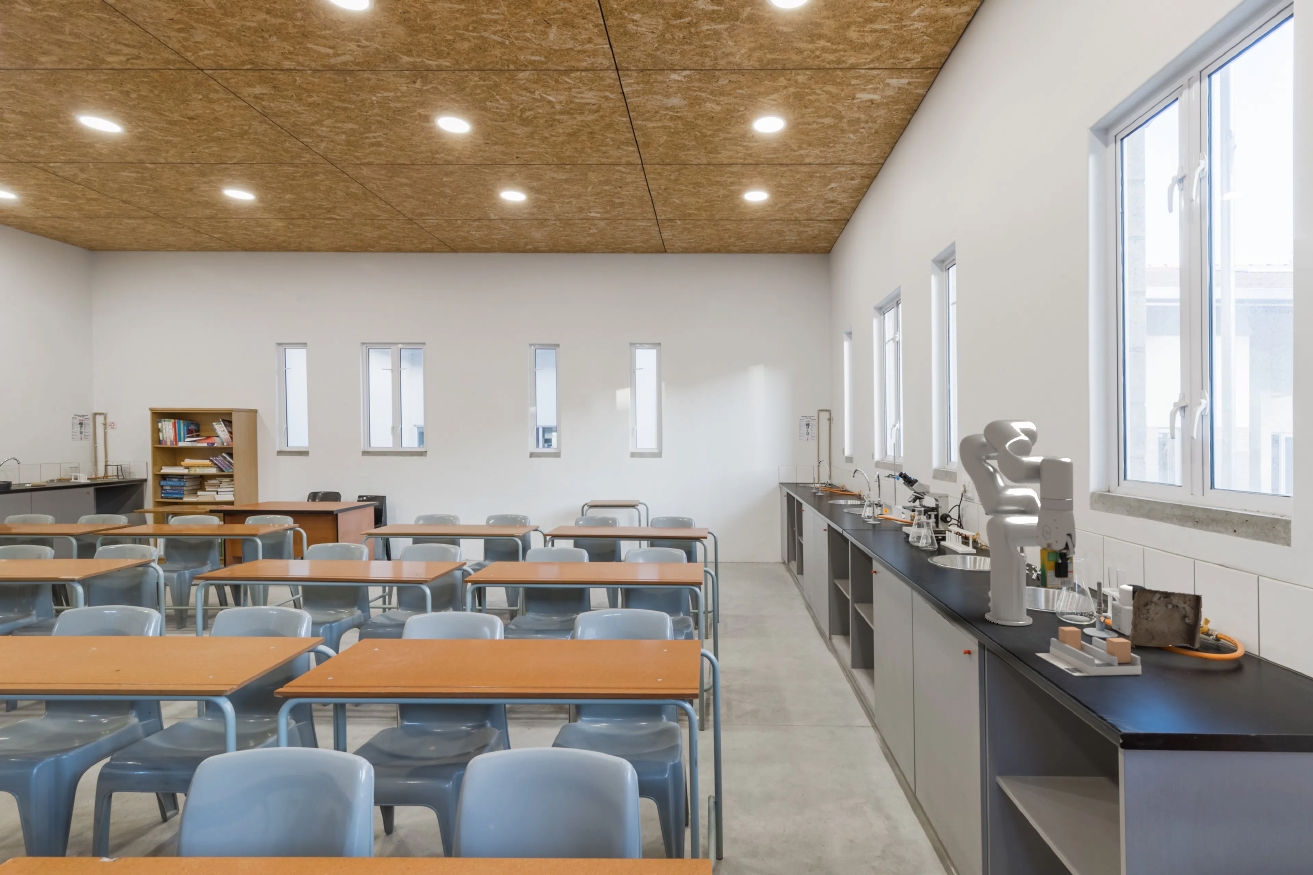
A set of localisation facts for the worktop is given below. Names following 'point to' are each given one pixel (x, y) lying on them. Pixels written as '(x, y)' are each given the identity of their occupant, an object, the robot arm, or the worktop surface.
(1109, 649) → the light orange block
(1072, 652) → the white divided tray
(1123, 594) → the container
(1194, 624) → the mineral sample
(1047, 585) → the crayon box
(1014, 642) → the worktop surface
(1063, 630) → the tan rectangular block
